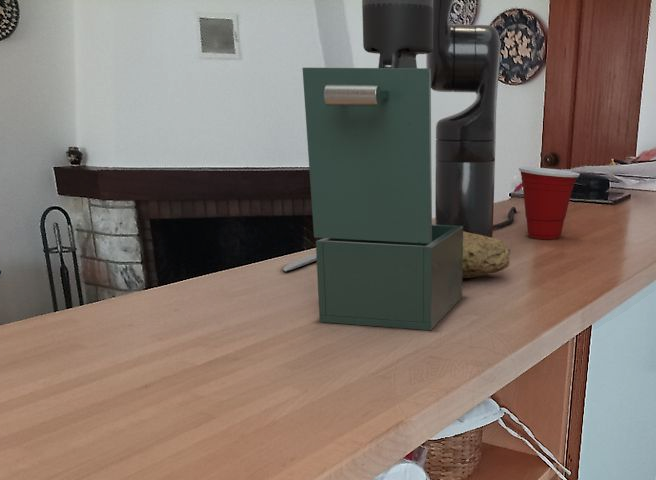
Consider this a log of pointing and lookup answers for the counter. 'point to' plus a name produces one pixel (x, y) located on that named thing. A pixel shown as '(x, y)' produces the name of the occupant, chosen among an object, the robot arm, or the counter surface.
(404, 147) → the lid
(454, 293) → the box
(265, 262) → the counter surface
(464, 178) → the robot arm
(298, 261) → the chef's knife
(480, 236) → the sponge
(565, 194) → the plastic cup
